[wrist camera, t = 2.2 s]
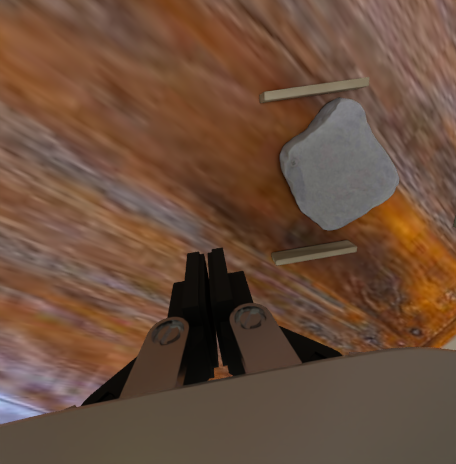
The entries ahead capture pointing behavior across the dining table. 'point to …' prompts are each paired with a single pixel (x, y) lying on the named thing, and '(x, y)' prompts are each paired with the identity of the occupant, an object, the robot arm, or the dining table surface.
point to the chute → (304, 91)
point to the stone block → (338, 166)
